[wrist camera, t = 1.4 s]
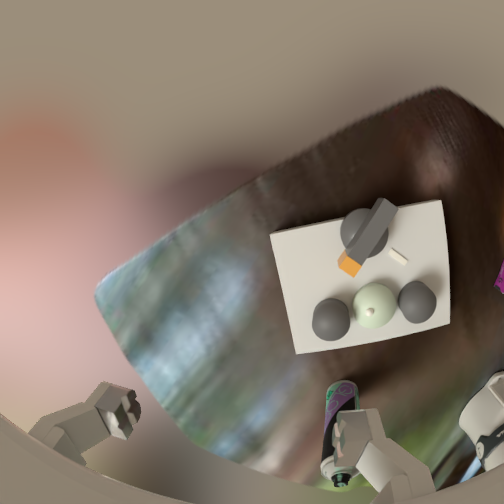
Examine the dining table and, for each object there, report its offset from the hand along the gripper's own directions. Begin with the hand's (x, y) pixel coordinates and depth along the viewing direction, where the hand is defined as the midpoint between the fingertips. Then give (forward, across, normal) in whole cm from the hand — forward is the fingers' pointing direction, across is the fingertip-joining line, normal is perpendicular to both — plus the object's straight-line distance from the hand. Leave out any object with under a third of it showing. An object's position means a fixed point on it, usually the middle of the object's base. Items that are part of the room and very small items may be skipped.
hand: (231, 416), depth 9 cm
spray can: (+29, +13, -26) cm, 41 cm away
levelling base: (+30, +14, -5) cm, 33 cm away
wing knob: (+28, +12, +2) cm, 30 cm away
